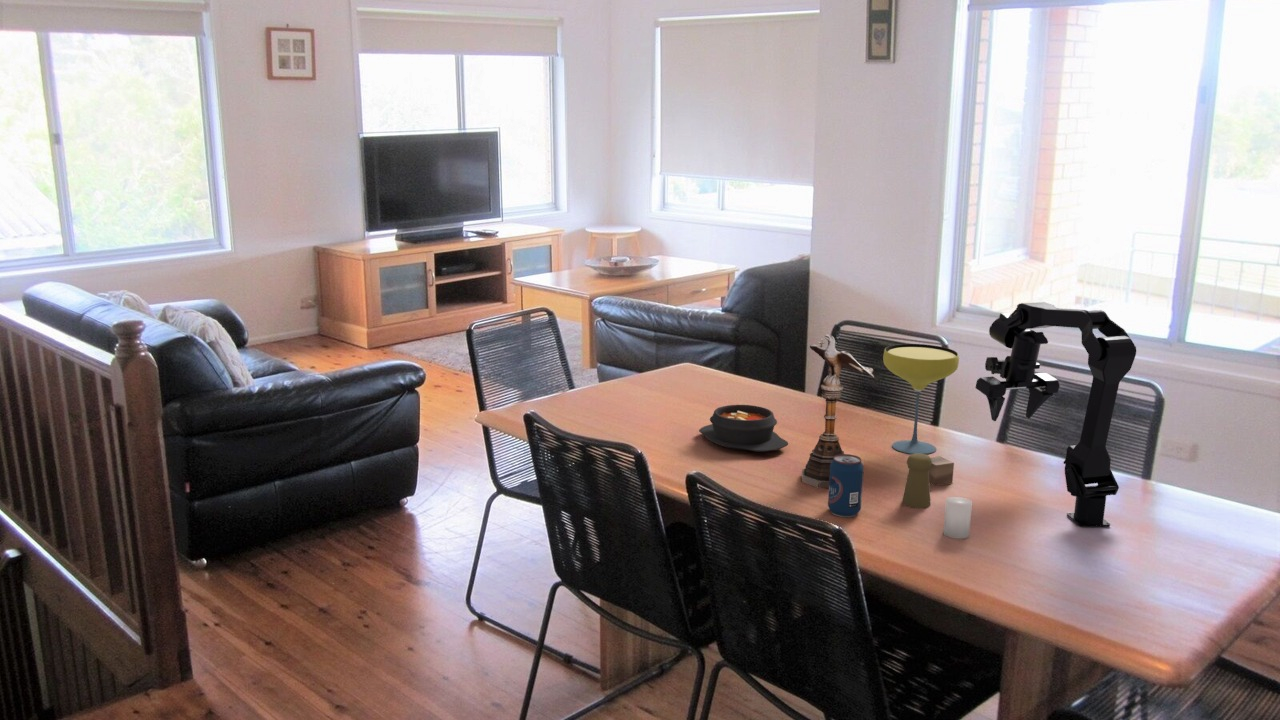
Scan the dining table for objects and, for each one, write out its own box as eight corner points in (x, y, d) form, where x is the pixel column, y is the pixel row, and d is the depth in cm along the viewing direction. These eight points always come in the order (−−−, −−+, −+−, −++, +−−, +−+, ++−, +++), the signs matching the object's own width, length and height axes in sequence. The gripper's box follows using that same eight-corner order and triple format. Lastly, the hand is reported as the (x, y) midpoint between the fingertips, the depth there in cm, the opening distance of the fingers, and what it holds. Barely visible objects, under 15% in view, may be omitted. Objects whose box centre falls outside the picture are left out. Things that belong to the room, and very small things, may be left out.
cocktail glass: (876, 455, 260) (883, 357, 255) (878, 434, 278) (884, 341, 272) (952, 462, 256) (961, 362, 250) (949, 440, 273) (957, 346, 268)
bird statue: (831, 462, 255) (839, 320, 247) (875, 476, 246) (885, 329, 237) (785, 476, 245) (792, 328, 237) (829, 492, 235) (837, 338, 227)
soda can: (821, 508, 226) (824, 455, 223) (849, 504, 228) (852, 451, 225) (838, 520, 219) (841, 465, 217) (867, 516, 222) (870, 461, 219)
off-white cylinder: (972, 538, 211) (975, 505, 209) (948, 538, 211) (950, 505, 209) (964, 529, 216) (966, 496, 214) (939, 529, 215) (942, 496, 214)
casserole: (804, 449, 265) (805, 416, 263) (752, 464, 254) (753, 430, 252) (733, 425, 284) (734, 395, 282) (682, 439, 272) (683, 407, 270)
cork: (931, 509, 226) (935, 460, 223) (902, 506, 227) (906, 458, 225) (929, 499, 232) (933, 451, 229) (901, 497, 233) (904, 449, 230)
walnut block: (952, 483, 242) (954, 462, 241) (934, 486, 240) (936, 465, 239) (938, 476, 247) (940, 456, 246) (920, 479, 245) (922, 458, 244)
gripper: (1036, 341, 247) (1023, 401, 253) (968, 345, 241) (956, 407, 247) (1067, 358, 237) (1053, 421, 243) (996, 363, 232) (983, 427, 238)
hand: (1010, 419), depth 243 cm, fingers open, 9 cm apart
